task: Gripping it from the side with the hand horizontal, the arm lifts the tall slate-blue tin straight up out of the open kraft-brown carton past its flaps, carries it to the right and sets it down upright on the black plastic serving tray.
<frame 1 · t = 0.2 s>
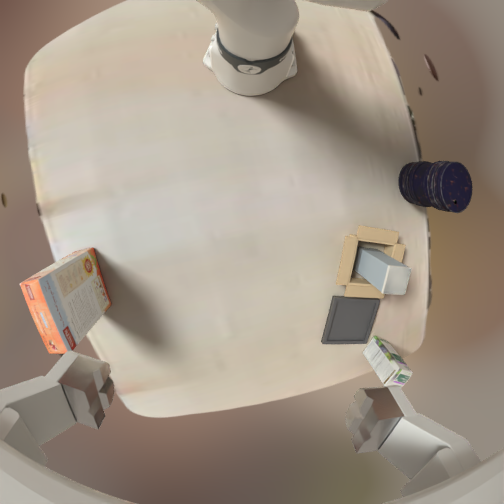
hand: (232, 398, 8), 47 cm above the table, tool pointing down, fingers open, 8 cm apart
syrup box: (374, 346, 64), on the table
tray: (350, 320, 61), on the table
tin: (379, 268, 51), in the carton
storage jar: (414, 183, 54), on the table
carton: (365, 259, 57), on the table
cracker box: (93, 278, 55), on the table
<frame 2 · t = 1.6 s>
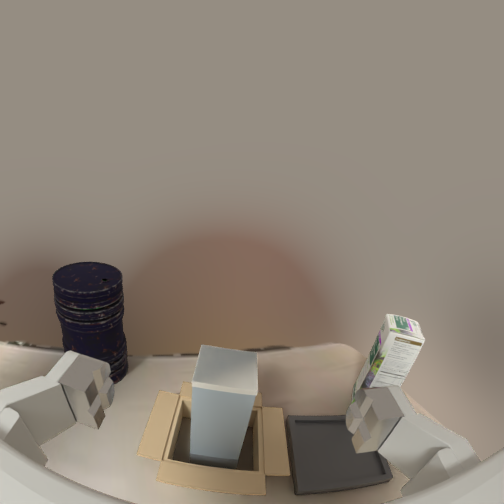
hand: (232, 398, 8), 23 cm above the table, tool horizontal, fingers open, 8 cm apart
syrup box: (367, 401, 36), on the table
tray: (336, 453, 26), on the table
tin: (219, 416, 24), in the carton
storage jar: (98, 366, 34), on the table
carton: (214, 449, 25), on the table
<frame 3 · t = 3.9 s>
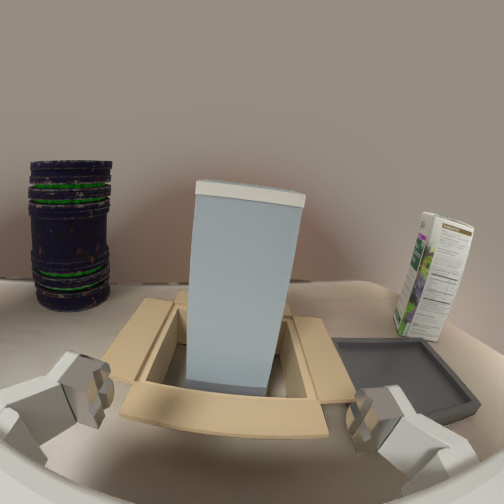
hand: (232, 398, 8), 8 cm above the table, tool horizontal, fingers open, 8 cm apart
syrup box: (414, 330, 30), on the table
tray: (400, 383, 20), on the table
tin: (235, 301, 17), in the carton
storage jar: (73, 293, 27), on the table
carton: (225, 384, 19), on the table
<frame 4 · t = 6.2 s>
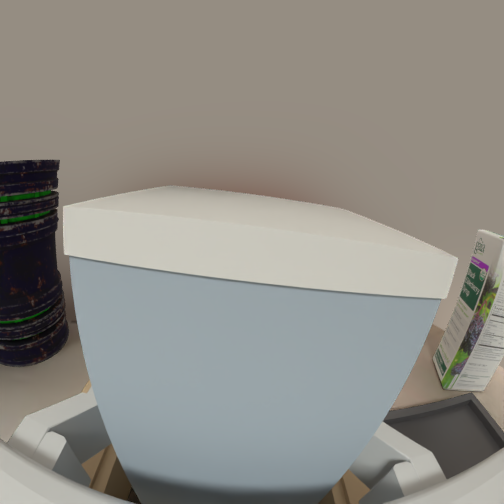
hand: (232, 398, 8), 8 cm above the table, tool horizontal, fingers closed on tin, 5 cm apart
syrup box: (456, 377, 20), on the table
tray: (451, 467, 10), on the table
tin: (229, 437, 7), in the carton, touching gripper
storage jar: (24, 335, 18), on the table
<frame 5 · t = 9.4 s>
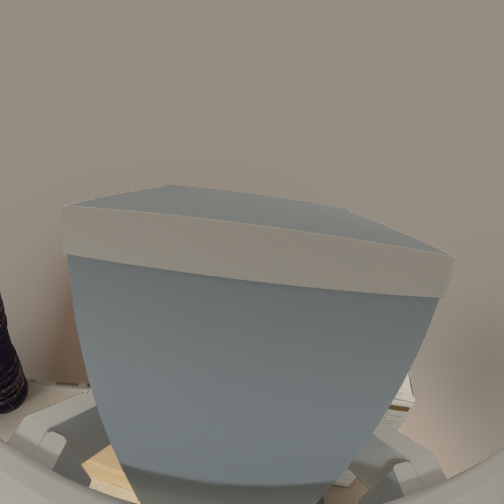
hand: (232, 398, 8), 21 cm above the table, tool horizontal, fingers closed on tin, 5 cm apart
syrup box: (327, 466, 23), on the table
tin: (228, 437, 7), point 20 cm above the table, touching gripper
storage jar: (0, 389, 20), on the table
when the fingers open (10 cm above the table, at t = 12.6 s): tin drops 1 cm, resting on tray.
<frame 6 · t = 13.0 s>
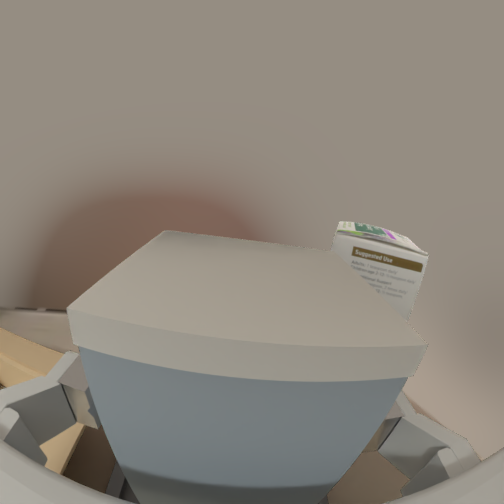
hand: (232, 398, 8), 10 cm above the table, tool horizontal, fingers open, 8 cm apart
syrup box: (322, 407, 20), on the table
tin: (225, 457, 7), point 8 cm above the table, touching tray
carton: (3, 436, 9), on the table
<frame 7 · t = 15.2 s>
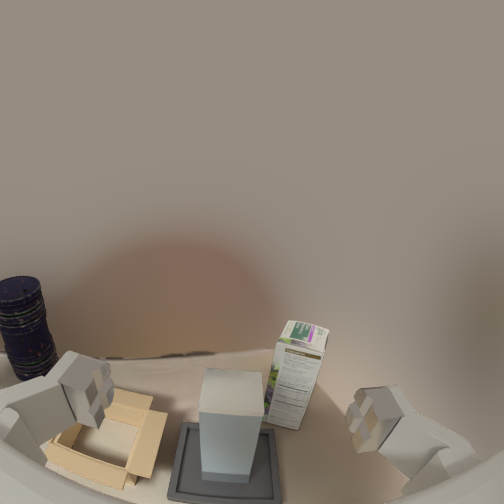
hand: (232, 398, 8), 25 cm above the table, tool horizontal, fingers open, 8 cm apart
syrup box: (284, 414, 35), on the table
tray: (225, 467, 25), on the table
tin: (228, 434, 23), point 8 cm above the table, touching tray
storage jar: (36, 366, 33), on the table
carton: (107, 444, 24), on the table
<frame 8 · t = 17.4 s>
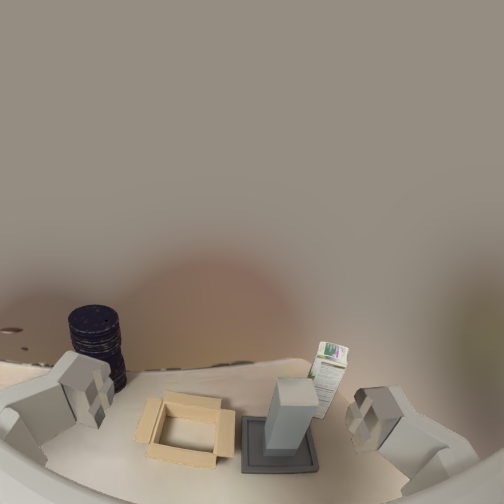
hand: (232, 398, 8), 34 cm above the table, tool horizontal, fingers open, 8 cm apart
syrup box: (311, 408, 48), on the table
tray: (277, 446, 38), on the table
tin: (286, 420, 36), point 8 cm above the table, touching tray
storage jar: (104, 380, 45), on the table
carton: (187, 438, 37), on the table
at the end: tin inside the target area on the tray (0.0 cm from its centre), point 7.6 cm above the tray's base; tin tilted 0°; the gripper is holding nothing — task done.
